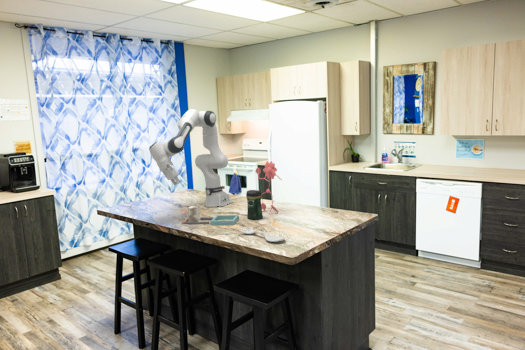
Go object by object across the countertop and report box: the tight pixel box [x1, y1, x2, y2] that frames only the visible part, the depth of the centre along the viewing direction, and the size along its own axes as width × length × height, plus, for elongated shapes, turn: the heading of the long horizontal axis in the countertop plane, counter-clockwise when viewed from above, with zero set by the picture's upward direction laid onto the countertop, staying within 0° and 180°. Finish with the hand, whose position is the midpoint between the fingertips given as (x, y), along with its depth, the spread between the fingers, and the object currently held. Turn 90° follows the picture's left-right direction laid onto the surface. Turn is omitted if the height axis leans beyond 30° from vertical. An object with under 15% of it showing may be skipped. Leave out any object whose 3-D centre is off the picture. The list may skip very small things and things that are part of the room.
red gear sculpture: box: [255, 160, 282, 215], centre depth 279 cm, size 15×26×35 cm, turn 42°
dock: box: [209, 214, 240, 226], centre depth 260 cm, size 15×15×2 cm
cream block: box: [187, 205, 201, 222], centre depth 263 cm, size 6×5×10 cm
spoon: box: [237, 225, 286, 243], centre depth 224 cm, size 9×32×4 cm, turn 42°
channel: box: [181, 216, 215, 225], centre depth 263 cm, size 18×12×2 cm
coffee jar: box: [245, 189, 264, 220], centre depth 264 cm, size 10×8×19 cm
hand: (177, 184), depth 266 cm, fingers open, 8 cm apart
